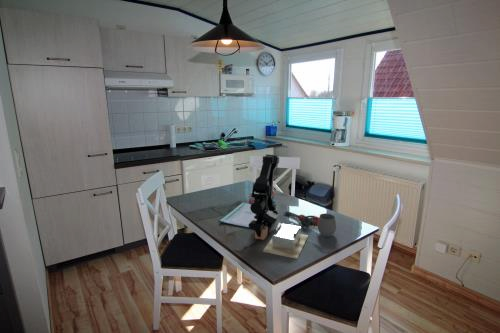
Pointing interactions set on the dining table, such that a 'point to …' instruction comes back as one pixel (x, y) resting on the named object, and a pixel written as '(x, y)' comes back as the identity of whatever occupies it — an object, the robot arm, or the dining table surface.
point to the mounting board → (287, 253)
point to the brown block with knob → (263, 233)
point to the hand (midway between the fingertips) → (261, 234)
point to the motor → (286, 236)
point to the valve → (305, 219)
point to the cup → (326, 225)
